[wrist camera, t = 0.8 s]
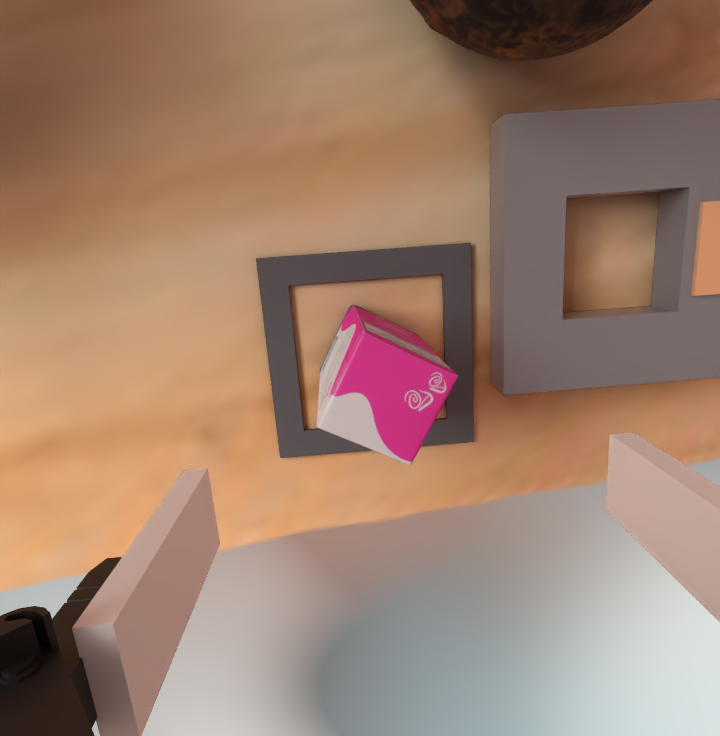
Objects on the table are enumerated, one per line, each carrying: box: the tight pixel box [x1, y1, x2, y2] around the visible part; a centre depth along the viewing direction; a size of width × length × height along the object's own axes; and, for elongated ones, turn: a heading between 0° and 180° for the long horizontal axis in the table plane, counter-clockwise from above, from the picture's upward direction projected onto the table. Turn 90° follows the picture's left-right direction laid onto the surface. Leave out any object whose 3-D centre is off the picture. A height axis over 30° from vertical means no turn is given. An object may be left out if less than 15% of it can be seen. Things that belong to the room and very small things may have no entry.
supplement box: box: [317, 305, 458, 465], centre depth 30 cm, size 6×6×12 cm
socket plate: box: [490, 99, 720, 395], centre depth 33 cm, size 18×16×3 cm
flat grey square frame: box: [256, 243, 474, 458], centre depth 36 cm, size 15×15×1 cm
